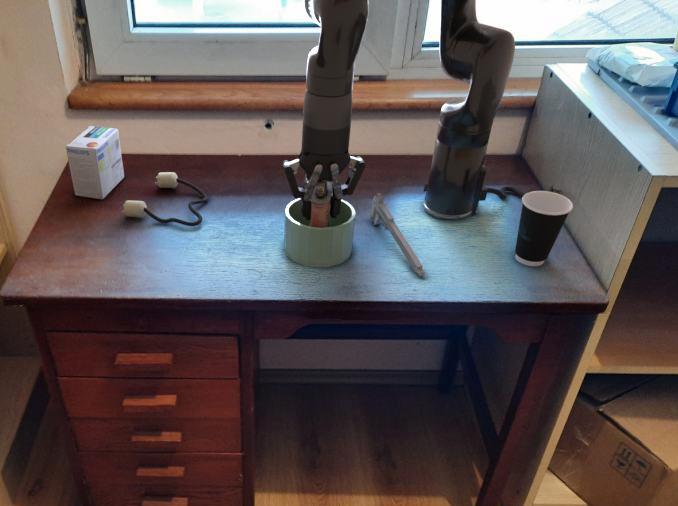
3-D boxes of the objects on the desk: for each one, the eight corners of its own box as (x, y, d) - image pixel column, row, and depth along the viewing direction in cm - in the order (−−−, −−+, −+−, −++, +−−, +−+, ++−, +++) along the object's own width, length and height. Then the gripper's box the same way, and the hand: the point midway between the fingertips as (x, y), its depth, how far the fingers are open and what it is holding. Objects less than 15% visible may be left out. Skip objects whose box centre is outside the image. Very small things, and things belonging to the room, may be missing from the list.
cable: (228, 194, 134) (227, 178, 132) (194, 233, 122) (193, 216, 120) (159, 182, 138) (158, 166, 136) (121, 218, 127) (118, 202, 124)
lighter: (326, 243, 112) (330, 189, 105) (306, 241, 112) (309, 187, 106) (330, 220, 118) (335, 167, 111) (312, 218, 118) (315, 166, 112)
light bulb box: (97, 173, 141) (88, 124, 135) (125, 177, 140) (119, 127, 133) (73, 196, 134) (63, 145, 127) (104, 200, 132) (95, 149, 125)
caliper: (369, 220, 125) (373, 189, 121) (374, 219, 126) (378, 189, 122) (419, 277, 110) (425, 245, 106) (425, 276, 111) (431, 244, 107)
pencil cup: (342, 229, 123) (346, 193, 118) (358, 264, 114) (363, 226, 109) (279, 234, 122) (280, 197, 117) (290, 269, 112) (291, 231, 108)
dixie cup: (497, 258, 115) (512, 201, 108) (520, 241, 119) (537, 185, 112) (539, 276, 110) (558, 218, 103) (562, 259, 114) (582, 201, 107)
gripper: (285, 130, 99) (282, 230, 110) (377, 125, 100) (365, 225, 111) (278, 112, 105) (276, 209, 116) (365, 107, 106) (355, 204, 117)
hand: (320, 216), depth 113 cm, fingers closed on lighter, 4 cm apart
